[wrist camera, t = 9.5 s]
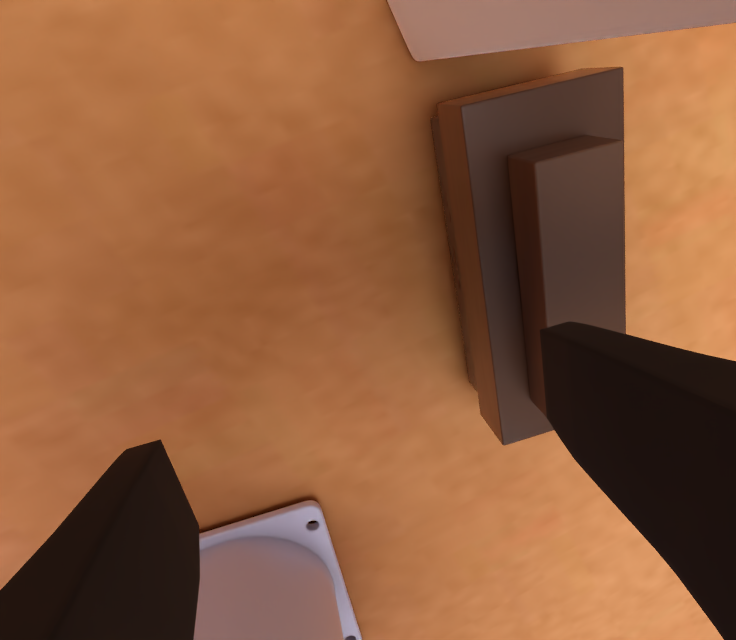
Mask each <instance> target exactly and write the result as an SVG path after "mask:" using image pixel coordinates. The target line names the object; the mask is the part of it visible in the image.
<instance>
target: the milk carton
mask: <svg viewBox="0 0 736 640" xmlns="http://www.w3.org/2000/svg"><path fill="white" fill-rule="evenodd" d="M387 2H388V4H389V6H390V9H391V11H392V13H393V15H394V18H395V20H396V22H397V25H398V27H399V29H400V31H401V34H402V36H403V38H404V40H405V43H406V45H407V47H408V49H409V51H410V53H411V55H412V57H413V58H414V59H415V60H416V61H428V60H436V59H444V58H453V57H461V56H469V55H477V54H485V53H493V52H501V51H510V50H518V49H526V48H534V47H542V46H550V45H558V44H566V43H575V42H583V41H591V40H599V39H607V38H615V37H623V36H632V35H640V34H648V33H656V32H664V31H672V30H680V29H689V28H697V27H705V26H713V25H721V24H729V23H736V0H387Z"/></svg>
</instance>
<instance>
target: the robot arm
mask: <svg viewBox="0 0 736 640" xmlns="http://www.w3.org/2000/svg"><path fill="white" fill-rule="evenodd" d="M540 340H541V353H542V365H543V377H544V389H545V402H546V414H547V419H548V421H549V422H550V424H551V425H552V427H553V428H554V430H555V431H556V433H557V434H558V436H559V437H560V439H561V440H562V442H563V443H564V445H565V446H566V448H567V449H568V450H569V452H570V453H571V455H572V456H573V458H574V459H575V460H576V461H577V463H578V464H579V465H580V466H581V467H582V468H583V469H584V471H585V472H586V473H587V474H588V475H589V476H590V477H591V478H592V480H593V481H594V482H595V483H596V484H597V485H598V486H599V487H600V489H601V490H602V491H603V492H604V493H605V494H606V495H607V496H608V497H609V499H610V500H611V501H612V502H613V503H614V504H615V505H616V506H617V507H618V509H619V510H620V511H621V512H622V513H623V514H624V515H625V516H626V517H627V518H628V520H629V521H630V522H631V523H632V524H633V525H634V526H635V527H636V528H637V530H638V531H639V532H640V533H641V534H642V535H643V536H644V537H645V538H646V539H647V541H648V542H649V543H650V544H651V545H652V546H653V547H654V548H655V549H656V551H657V552H658V553H659V554H660V555H661V557H662V558H663V559H664V560H665V561H666V563H667V564H668V565H669V566H670V567H671V569H672V570H673V571H674V572H675V573H676V575H677V576H678V577H679V579H680V580H681V581H682V583H683V584H684V585H685V587H686V588H687V590H688V591H689V592H690V594H691V595H692V596H693V598H694V599H695V600H696V602H697V603H698V604H699V606H700V607H701V608H702V610H703V611H704V612H705V614H706V615H707V616H708V618H709V619H710V621H711V622H712V623H713V625H714V626H715V627H716V629H717V630H718V632H719V633H720V635H721V636H722V637H723V639H724V640H736V361H732V360H727V359H722V358H718V357H713V356H709V355H704V354H700V353H696V352H692V351H688V350H684V349H680V348H676V347H672V346H668V345H664V344H660V343H657V342H653V341H649V340H645V339H642V338H638V337H634V336H631V335H627V334H623V333H619V332H616V331H612V330H608V329H604V328H600V327H596V326H592V325H588V324H583V323H578V322H572V321H568V322H565V323H561V324H558V325H554V326H551V327H547V328H544V329H541V330H540ZM313 520H315V521H316V522H315V523H313V524H308V522H310V521H313ZM0 640H363V639H362V636H361V633H360V630H359V627H358V623H357V620H356V617H355V614H354V611H353V607H352V604H351V601H350V598H349V595H348V592H347V588H346V585H345V582H344V579H343V576H342V573H341V569H340V566H339V563H338V560H337V557H336V554H335V550H334V547H333V544H332V541H331V538H330V535H329V531H328V528H327V525H326V522H325V519H324V515H323V512H322V509H321V506H320V505H319V503H317V502H316V501H312V500H308V501H303V502H300V503H297V504H294V505H291V506H287V507H284V508H281V509H278V510H274V511H271V512H268V513H265V514H261V515H258V516H255V517H252V518H249V519H245V520H242V521H239V522H236V523H232V524H229V525H226V526H223V527H219V528H216V529H213V530H210V531H207V532H203V533H200V534H199V525H198V522H197V520H196V518H195V516H194V513H193V511H192V509H191V507H190V504H189V502H188V500H187V498H186V495H185V493H184V491H183V489H182V486H181V484H180V482H179V480H178V477H177V475H176V473H175V471H174V468H173V466H172V464H171V462H170V459H169V457H168V455H167V453H166V450H165V448H164V446H163V444H162V441H161V439H160V440H157V441H154V442H150V443H147V444H143V445H140V446H136V447H133V448H129V449H126V450H125V451H124V452H123V453H122V454H121V455H120V456H119V457H118V458H117V459H116V460H115V461H114V463H113V464H112V465H111V466H110V467H109V468H108V469H107V471H106V472H105V473H104V474H103V475H102V476H101V478H100V479H99V480H98V481H97V482H96V483H95V485H94V486H93V487H92V488H91V489H90V491H89V492H88V493H87V494H86V495H85V497H84V498H83V499H82V500H81V501H80V502H79V504H78V505H77V506H76V507H75V508H74V509H73V511H72V512H71V513H70V514H69V515H68V516H67V518H66V519H65V520H64V521H63V522H62V523H61V525H60V526H59V527H58V528H57V529H56V530H55V532H54V533H53V534H52V535H51V536H50V537H49V538H48V540H47V541H46V542H45V543H44V544H43V545H42V546H41V547H40V548H39V549H38V550H37V551H36V553H35V554H34V555H33V556H32V557H31V558H30V559H29V560H28V561H27V562H26V563H25V564H24V566H23V567H22V568H21V569H20V570H19V571H18V572H17V573H16V574H15V575H14V576H13V577H12V579H11V580H10V581H9V582H8V583H7V584H6V585H5V586H4V587H3V588H2V589H1V590H0Z"/></svg>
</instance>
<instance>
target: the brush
mask: <svg viewBox="0 0 736 640" xmlns="http://www.w3.org/2000/svg"><path fill="white" fill-rule="evenodd" d="M437 111H438V115H437V116H433V117H432V118H431V126H432V133H433V140H434V146H435V153H436V160H437V167H438V173H439V180H440V187H441V194H442V200H443V207H444V214H445V221H446V227H447V234H448V241H449V248H450V254H451V261H452V268H453V275H454V281H455V288H456V295H457V301H458V308H459V315H460V322H461V328H462V335H463V342H464V349H465V355H466V362H467V369H468V376H469V382H470V383H471V385H472V386H473V387H474V388H475V390H476V391H477V392H478V399H479V406H480V413H481V416H482V417H483V418H484V420H485V421H486V423H487V424H488V425H489V427H490V428H491V429H492V431H493V432H494V434H495V435H496V436H497V438H498V439H499V440H500V442H501V443H502V445H507V444H511V443H514V442H517V441H520V440H523V439H527V438H530V437H533V436H536V435H539V434H543V433H546V432H549V431H552V430H554V428H553V427H552V425H551V424H550V422H549V421H548V419H547V414H546V402H545V389H544V377H543V365H542V353H541V340H540V330H541V329H544V328H547V327H551V326H554V325H558V324H561V323H565V322H568V321H572V322H578V323H583V324H588V325H592V326H596V327H600V328H604V329H608V330H612V331H616V332H619V333H623V334H626V315H625V204H624V92H623V67H609V68H586V69H578V70H574V71H570V72H566V73H562V74H557V75H553V76H549V77H545V78H541V79H537V80H532V81H528V82H524V83H520V84H516V85H511V86H507V87H503V88H499V89H495V90H490V91H486V92H482V93H478V94H474V95H470V96H465V97H461V98H457V99H453V100H449V101H444V102H440V103H438V104H437Z"/></svg>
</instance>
